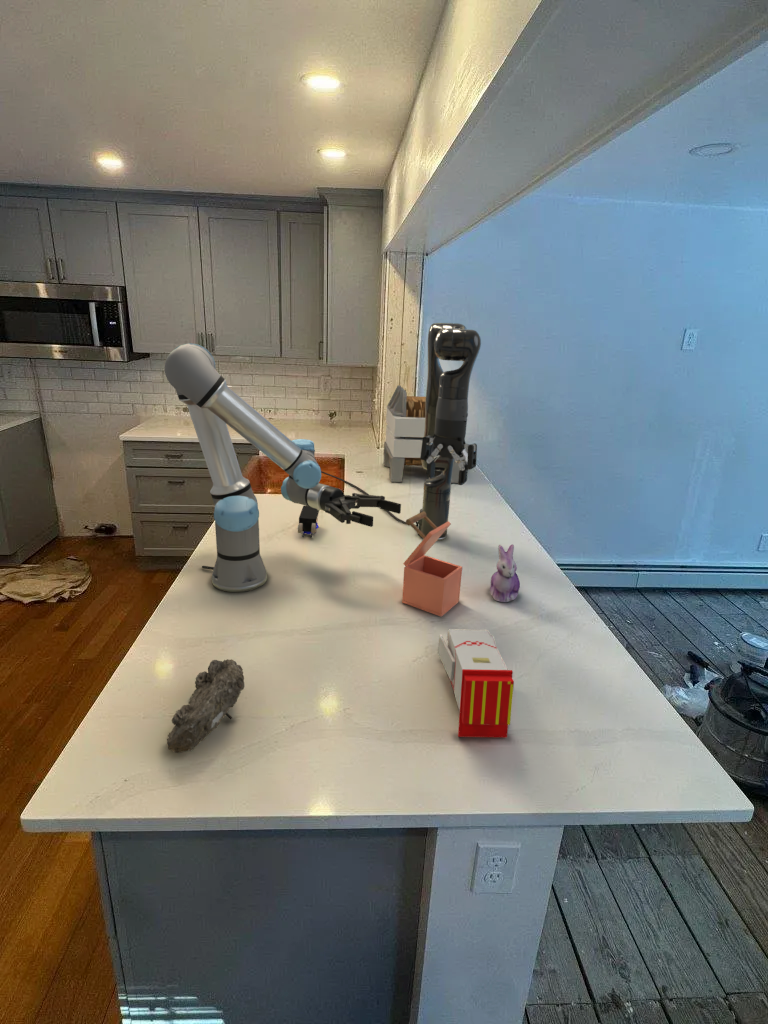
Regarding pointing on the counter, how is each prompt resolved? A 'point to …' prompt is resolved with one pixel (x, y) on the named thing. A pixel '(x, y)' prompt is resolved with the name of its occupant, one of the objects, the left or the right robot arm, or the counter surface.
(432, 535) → the lid
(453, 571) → the chest
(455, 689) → the toy
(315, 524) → the figurine character
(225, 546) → the left robot arm
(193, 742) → the fossil
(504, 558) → the figurine
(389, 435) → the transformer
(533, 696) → the counter surface
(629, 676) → the counter surface
